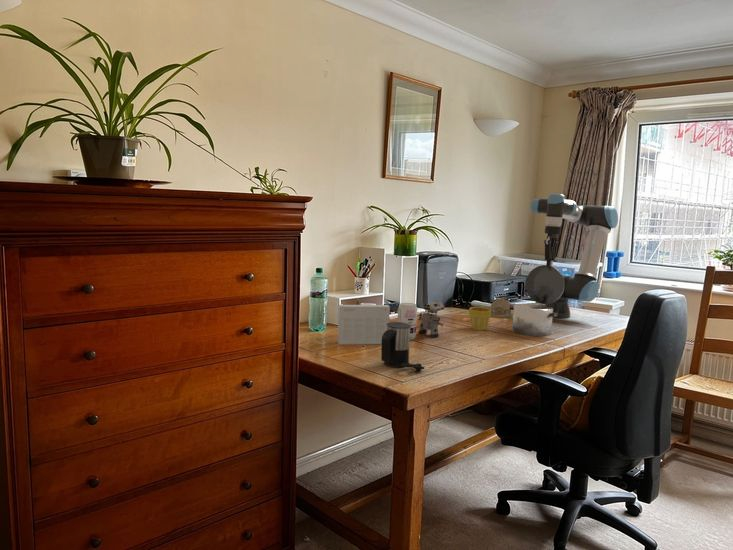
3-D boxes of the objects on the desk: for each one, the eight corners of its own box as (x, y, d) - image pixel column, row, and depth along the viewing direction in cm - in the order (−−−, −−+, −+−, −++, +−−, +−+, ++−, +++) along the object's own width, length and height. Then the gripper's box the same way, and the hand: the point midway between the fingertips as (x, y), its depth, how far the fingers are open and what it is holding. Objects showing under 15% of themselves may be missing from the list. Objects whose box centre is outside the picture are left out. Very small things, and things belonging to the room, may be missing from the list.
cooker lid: (523, 300, 279) (526, 300, 282) (560, 306, 267) (563, 306, 270) (528, 263, 278) (531, 263, 281) (565, 267, 266) (568, 267, 269)
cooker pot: (519, 324, 282) (521, 301, 281) (562, 332, 268) (564, 307, 267) (501, 330, 267) (503, 305, 265) (546, 338, 253) (548, 313, 252)
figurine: (447, 335, 251) (450, 303, 249) (428, 338, 244) (430, 304, 242) (434, 331, 258) (436, 299, 256) (415, 334, 251) (417, 301, 250)
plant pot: (490, 332, 262) (491, 311, 261) (467, 330, 264) (469, 309, 263) (489, 327, 272) (491, 307, 271) (468, 325, 274) (469, 306, 273)
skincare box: (386, 341, 236) (388, 304, 234) (389, 344, 231) (390, 307, 229) (336, 341, 232) (338, 303, 230) (338, 344, 227) (340, 306, 225)
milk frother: (387, 359, 209) (389, 320, 207) (429, 364, 204) (431, 325, 202) (377, 369, 195) (379, 328, 193) (421, 375, 191) (423, 333, 189)
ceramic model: (485, 315, 302) (486, 297, 300) (492, 312, 311) (493, 295, 310) (510, 319, 295) (512, 301, 293) (517, 316, 304) (518, 298, 303)
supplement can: (405, 334, 249) (407, 301, 247) (419, 338, 243) (421, 304, 241) (392, 337, 243) (394, 303, 241) (407, 341, 237) (409, 306, 235)
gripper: (550, 225, 280) (546, 272, 282) (540, 225, 270) (535, 273, 272) (565, 226, 275) (560, 274, 278) (555, 226, 265) (550, 275, 268)
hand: (548, 273), depth 275 cm, fingers closed
